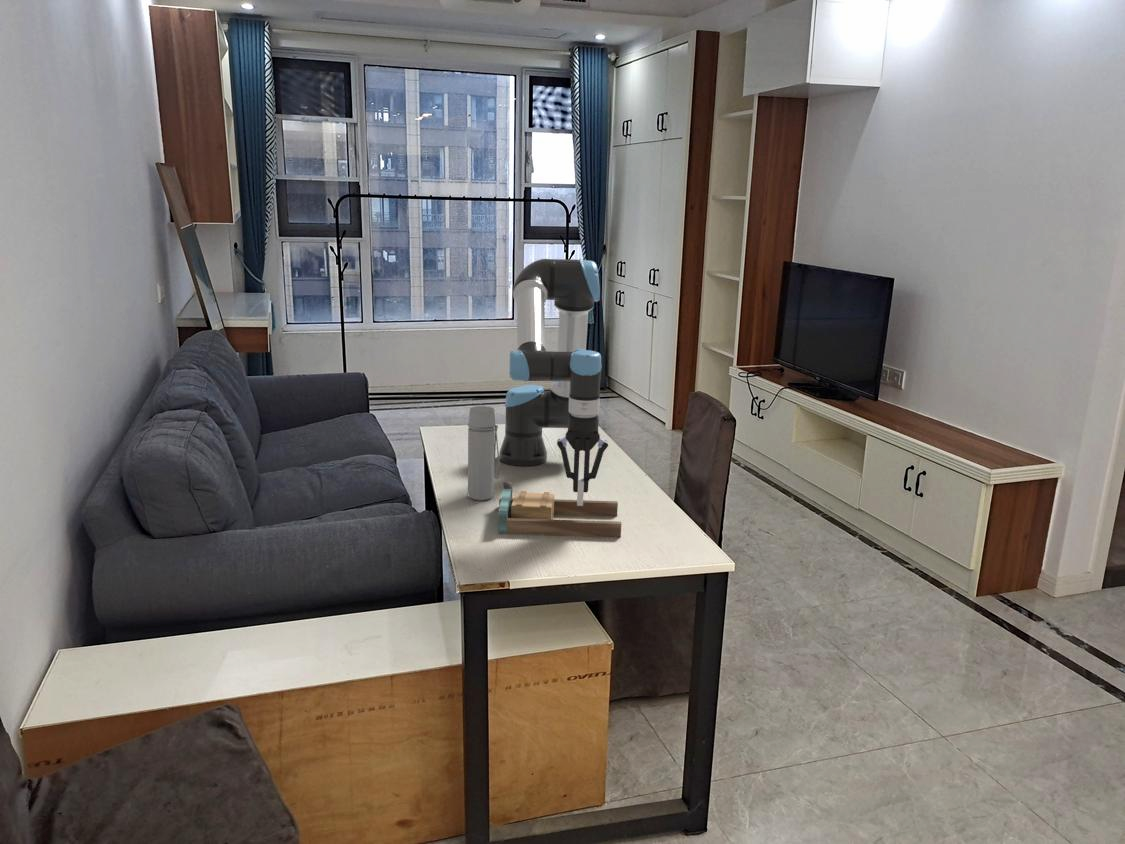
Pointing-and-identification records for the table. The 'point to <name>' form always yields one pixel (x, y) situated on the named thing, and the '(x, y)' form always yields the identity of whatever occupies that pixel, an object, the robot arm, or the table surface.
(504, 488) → the bay
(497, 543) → the table surface
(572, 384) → the robot arm
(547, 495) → the crate
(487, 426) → the water bottle
